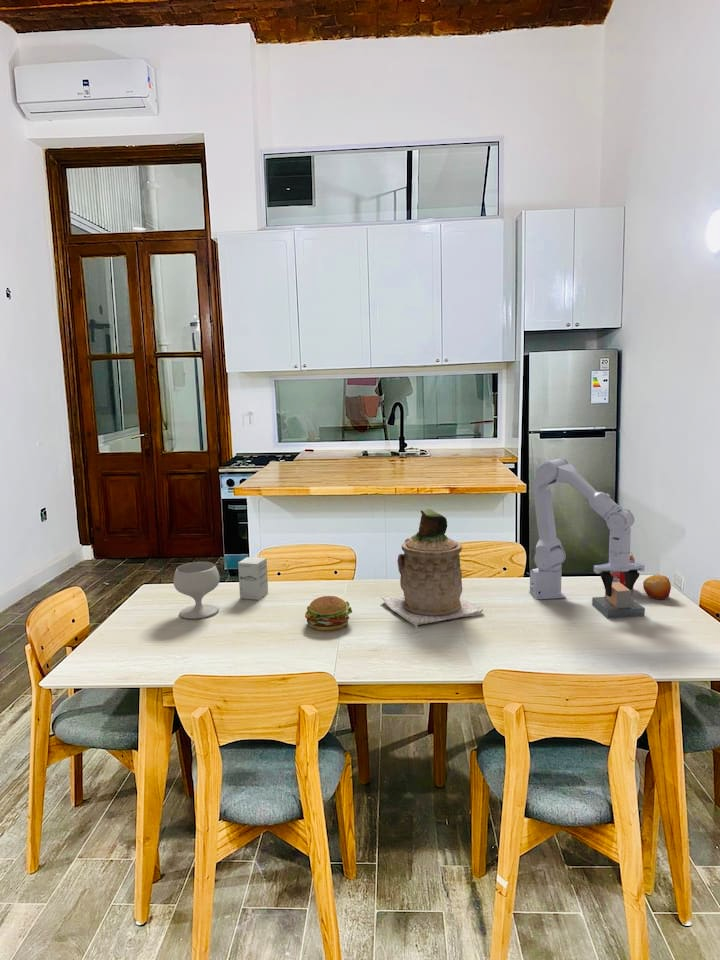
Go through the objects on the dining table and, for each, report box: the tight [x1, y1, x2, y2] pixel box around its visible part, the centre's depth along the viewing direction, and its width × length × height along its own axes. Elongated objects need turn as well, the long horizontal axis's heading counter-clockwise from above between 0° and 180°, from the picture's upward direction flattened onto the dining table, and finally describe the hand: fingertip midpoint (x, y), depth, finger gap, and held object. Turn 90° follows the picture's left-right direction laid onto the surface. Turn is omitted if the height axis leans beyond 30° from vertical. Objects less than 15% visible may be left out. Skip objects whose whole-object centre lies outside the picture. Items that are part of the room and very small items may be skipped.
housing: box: [604, 582, 633, 608], centre depth 195 cm, size 9×4×5 cm, turn 3°
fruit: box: [642, 574, 672, 601], centre depth 206 cm, size 8×8×8 cm
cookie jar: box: [380, 508, 484, 628], centre depth 201 cm, size 25×25×32 cm
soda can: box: [610, 551, 636, 590], centre depth 214 cm, size 7×7×12 cm
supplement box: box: [237, 556, 269, 601], centre depth 219 cm, size 7×7×13 cm
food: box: [304, 595, 353, 631], centre depth 193 cm, size 14×14×8 cm
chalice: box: [173, 561, 220, 620], centre depth 205 cm, size 14×14×15 cm
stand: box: [591, 596, 646, 619], centre depth 196 cm, size 11×11×2 cm
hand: (618, 594), depth 195 cm, fingers open, 5 cm apart
